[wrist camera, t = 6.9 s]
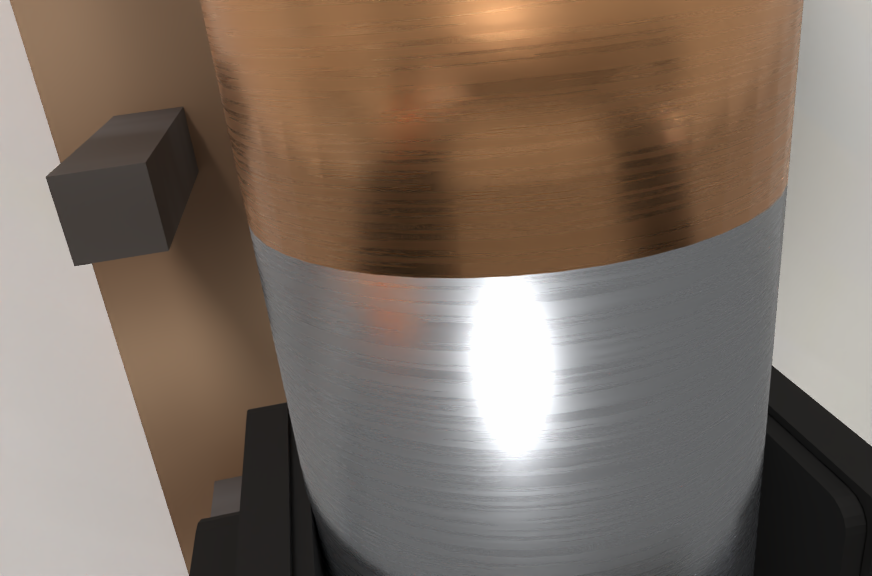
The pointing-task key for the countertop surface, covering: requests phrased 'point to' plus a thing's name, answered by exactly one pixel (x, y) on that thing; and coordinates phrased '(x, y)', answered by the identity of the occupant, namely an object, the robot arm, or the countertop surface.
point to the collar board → (159, 230)
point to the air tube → (519, 271)
